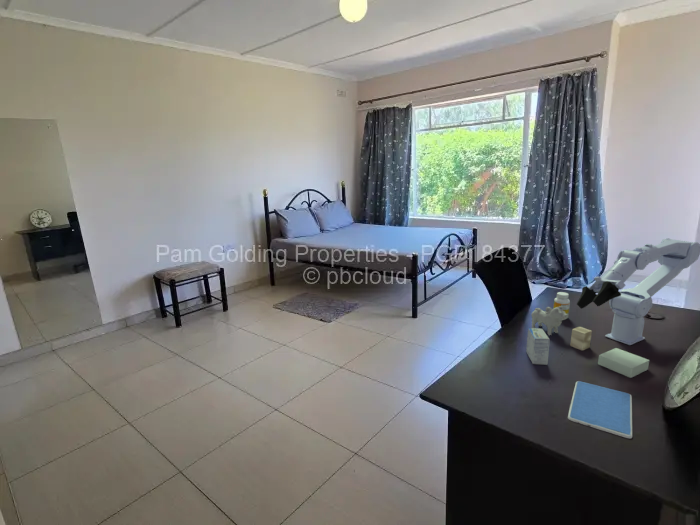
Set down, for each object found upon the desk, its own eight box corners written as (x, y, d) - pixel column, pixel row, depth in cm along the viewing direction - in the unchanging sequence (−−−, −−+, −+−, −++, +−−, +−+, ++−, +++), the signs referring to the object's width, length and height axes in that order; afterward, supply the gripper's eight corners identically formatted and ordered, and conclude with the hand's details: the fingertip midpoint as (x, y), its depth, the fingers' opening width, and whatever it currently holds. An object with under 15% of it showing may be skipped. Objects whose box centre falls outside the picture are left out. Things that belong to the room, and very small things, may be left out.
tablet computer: (631, 441, 83) (632, 436, 82) (566, 421, 90) (567, 416, 90) (631, 398, 98) (632, 393, 98) (575, 383, 105) (576, 379, 105)
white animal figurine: (560, 340, 130) (563, 311, 127) (527, 327, 141) (530, 300, 138) (569, 336, 132) (573, 308, 129) (537, 324, 143) (539, 297, 141)
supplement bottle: (550, 314, 152) (552, 291, 150) (564, 314, 151) (567, 291, 149) (555, 319, 147) (558, 295, 144) (570, 319, 146) (573, 295, 144)
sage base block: (614, 356, 118) (616, 347, 117) (647, 369, 110) (649, 360, 109) (597, 364, 114) (599, 355, 113) (630, 377, 106) (632, 368, 105)
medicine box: (547, 365, 114) (550, 339, 112) (531, 364, 115) (534, 338, 113) (540, 353, 121) (542, 328, 119) (525, 352, 122) (527, 327, 120)
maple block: (577, 342, 127) (579, 326, 126) (589, 347, 124) (591, 330, 122) (570, 345, 126) (572, 329, 124) (582, 350, 122) (584, 333, 121)
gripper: (590, 272, 128) (564, 298, 125) (622, 263, 113) (593, 292, 111) (605, 287, 127) (579, 314, 124) (640, 280, 113) (611, 310, 110)
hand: (587, 305), depth 118 cm, fingers open, 7 cm apart
